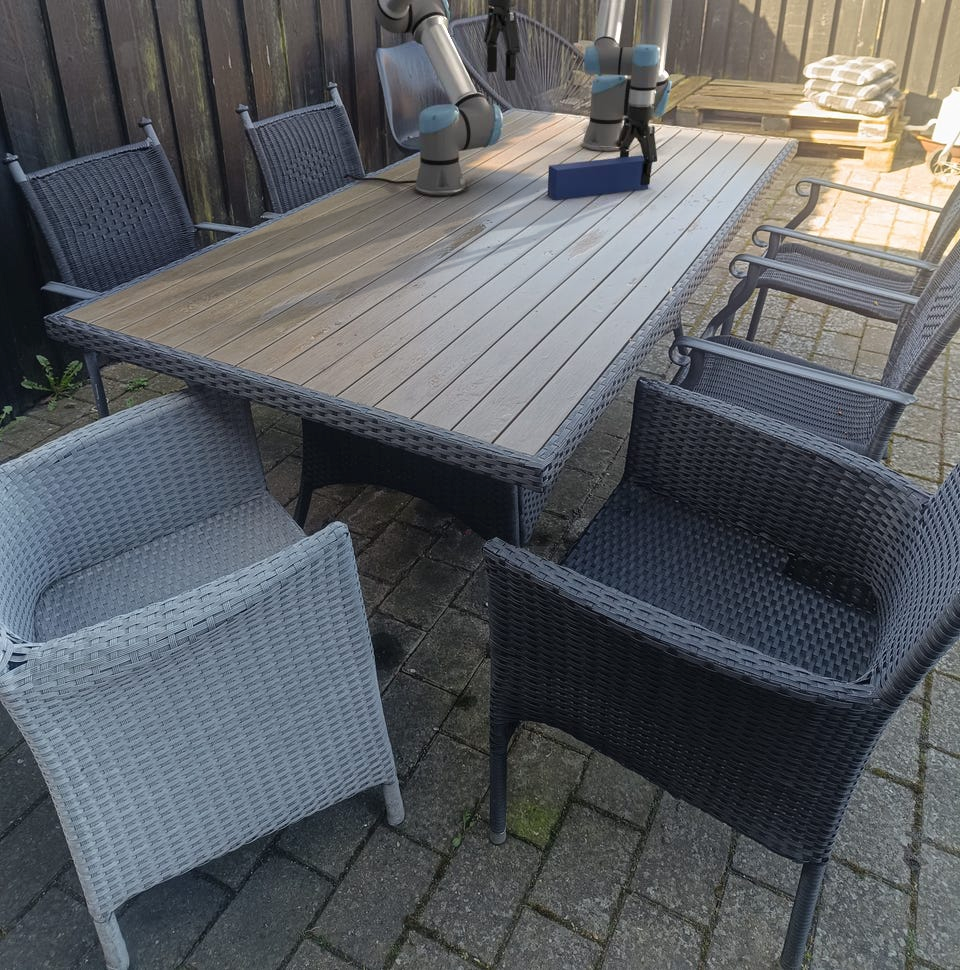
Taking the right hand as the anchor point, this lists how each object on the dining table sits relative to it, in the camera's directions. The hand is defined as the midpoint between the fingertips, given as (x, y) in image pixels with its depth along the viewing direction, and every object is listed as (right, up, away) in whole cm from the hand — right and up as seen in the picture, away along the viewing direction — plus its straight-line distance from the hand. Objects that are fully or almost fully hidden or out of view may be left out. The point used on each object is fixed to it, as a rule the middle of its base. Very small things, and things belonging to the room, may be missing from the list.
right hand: (633, 178), depth 259 cm
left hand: (-41, +21, -22) cm, 51 cm away
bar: (-11, -5, -2) cm, 12 cm away
